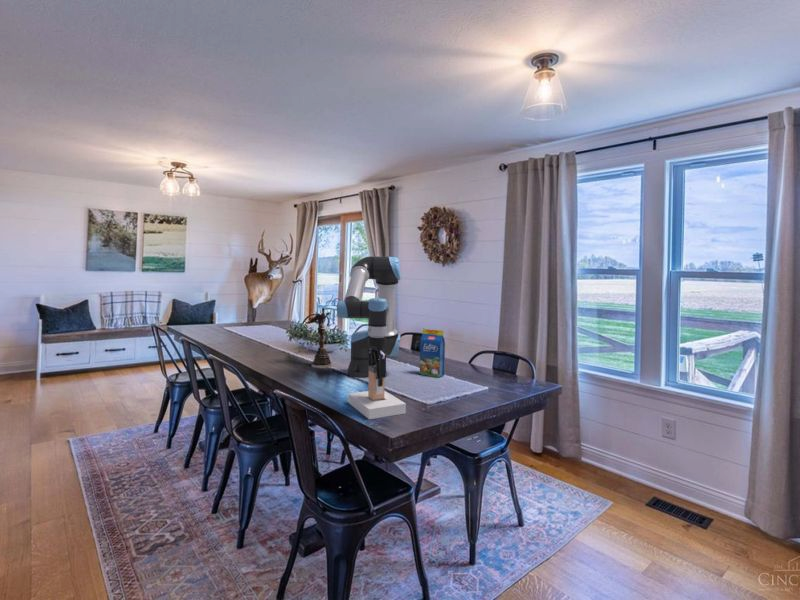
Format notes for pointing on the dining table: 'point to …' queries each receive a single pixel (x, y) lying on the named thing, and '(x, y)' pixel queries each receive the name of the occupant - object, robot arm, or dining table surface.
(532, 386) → the dining table surface
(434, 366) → the blue food package
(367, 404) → the socket
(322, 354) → the bird statue
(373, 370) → the plug
